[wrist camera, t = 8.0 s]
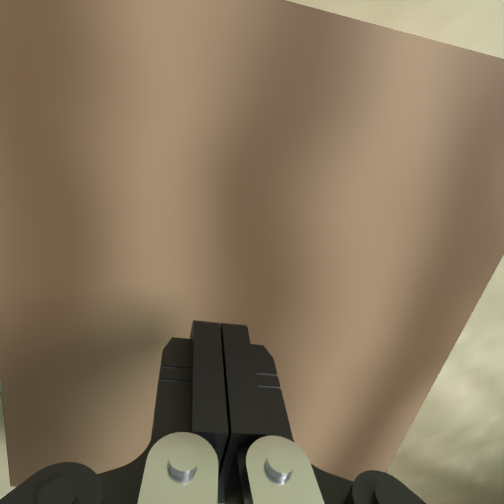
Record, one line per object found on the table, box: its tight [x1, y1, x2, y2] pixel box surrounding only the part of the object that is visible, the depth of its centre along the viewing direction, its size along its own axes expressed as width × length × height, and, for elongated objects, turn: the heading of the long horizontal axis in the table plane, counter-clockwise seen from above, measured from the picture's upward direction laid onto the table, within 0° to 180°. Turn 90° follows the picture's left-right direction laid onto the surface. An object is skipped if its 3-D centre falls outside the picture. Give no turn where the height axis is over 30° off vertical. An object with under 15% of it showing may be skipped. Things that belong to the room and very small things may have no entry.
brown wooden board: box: [0, 0, 504, 486], centre depth 15 cm, size 16×18×4 cm
